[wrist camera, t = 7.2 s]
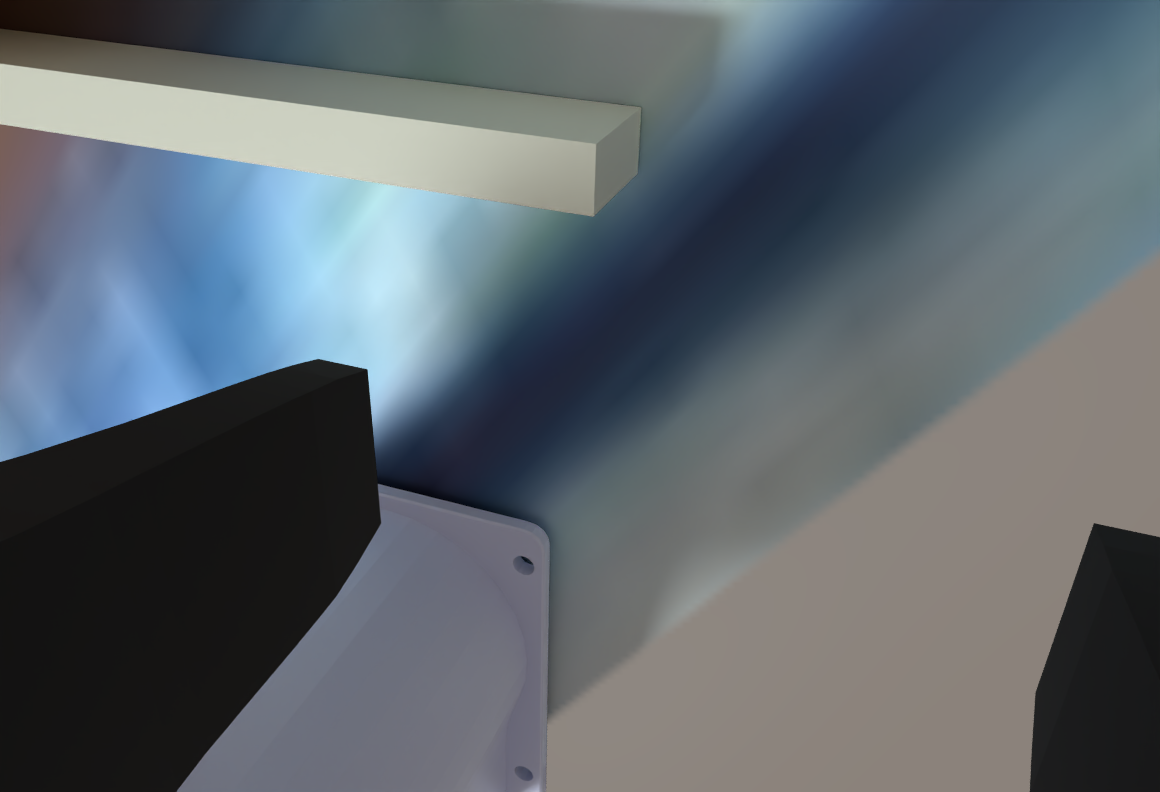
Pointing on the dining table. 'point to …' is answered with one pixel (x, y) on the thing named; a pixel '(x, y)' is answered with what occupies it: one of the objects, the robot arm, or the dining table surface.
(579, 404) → the dining table surface
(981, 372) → the dining table surface
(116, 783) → the robot arm
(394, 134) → the cream u-shaped frame
